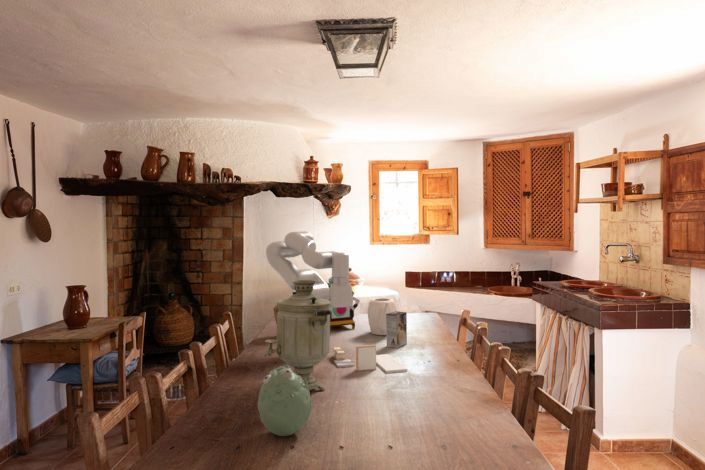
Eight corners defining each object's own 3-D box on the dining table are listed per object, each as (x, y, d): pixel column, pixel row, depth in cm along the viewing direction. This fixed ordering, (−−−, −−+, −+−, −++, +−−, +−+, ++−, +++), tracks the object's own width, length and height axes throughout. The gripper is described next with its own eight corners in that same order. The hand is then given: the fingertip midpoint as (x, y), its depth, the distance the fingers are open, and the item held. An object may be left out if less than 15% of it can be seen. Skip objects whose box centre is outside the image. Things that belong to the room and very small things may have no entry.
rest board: (386, 373, 211) (386, 370, 211) (369, 357, 235) (369, 355, 235) (407, 371, 214) (407, 368, 214) (388, 356, 237) (388, 354, 237)
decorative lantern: (312, 326, 303) (312, 274, 302) (343, 322, 311) (343, 272, 310) (325, 332, 285) (325, 278, 284) (358, 329, 293) (358, 276, 292)
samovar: (253, 382, 200) (252, 278, 199) (318, 374, 209) (317, 275, 208) (268, 409, 172) (267, 288, 171) (343, 399, 182) (343, 284, 180)
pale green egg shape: (316, 422, 162) (316, 358, 161) (305, 449, 143) (305, 376, 142) (266, 420, 163) (266, 357, 162) (249, 447, 144) (249, 375, 143)
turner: (329, 356, 237) (329, 347, 237) (344, 355, 239) (343, 346, 239) (338, 367, 220) (338, 358, 219) (354, 366, 221) (354, 357, 221)
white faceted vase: (372, 340, 267) (372, 303, 267) (365, 329, 294) (364, 295, 293) (402, 339, 269) (401, 303, 268) (392, 328, 296) (392, 295, 295)
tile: (357, 371, 214) (357, 347, 214) (356, 369, 216) (356, 345, 216) (376, 369, 216) (376, 345, 216) (374, 368, 219) (374, 344, 218)
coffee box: (396, 342, 263) (396, 310, 262) (407, 344, 259) (407, 312, 258) (386, 346, 255) (386, 313, 255) (397, 348, 251) (397, 315, 251)
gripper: (322, 282, 223) (323, 322, 224) (361, 281, 228) (361, 320, 228) (319, 280, 230) (319, 319, 231) (357, 279, 235) (357, 316, 235)
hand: (340, 319), depth 230 cm, fingers open, 9 cm apart
